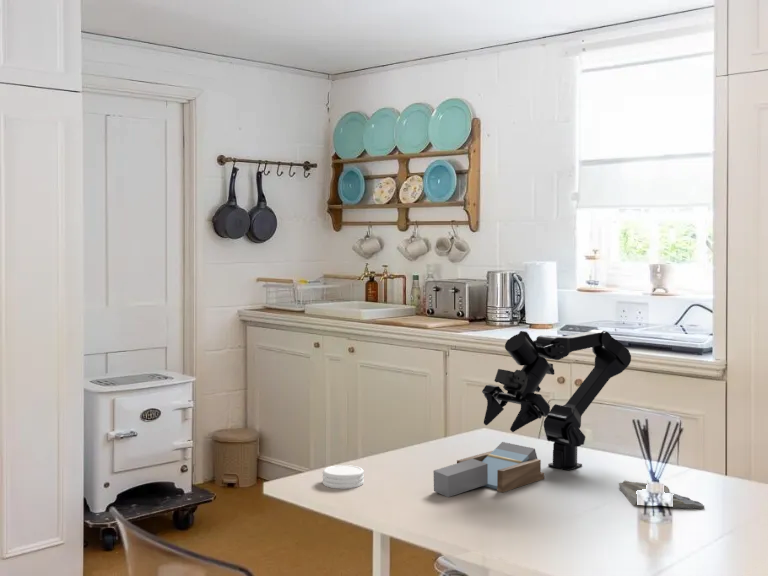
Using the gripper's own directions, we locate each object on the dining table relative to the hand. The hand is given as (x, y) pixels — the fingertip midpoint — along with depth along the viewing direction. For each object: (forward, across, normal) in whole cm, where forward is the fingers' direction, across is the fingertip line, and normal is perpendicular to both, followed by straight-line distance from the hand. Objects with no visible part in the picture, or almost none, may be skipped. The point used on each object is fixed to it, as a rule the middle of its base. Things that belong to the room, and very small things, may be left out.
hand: (497, 427), depth 218 cm
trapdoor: (+7, -1, +10) cm, 12 cm away
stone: (+11, 0, +3) cm, 11 cm away
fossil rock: (-4, +31, +24) cm, 40 cm away
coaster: (+31, -21, -12) cm, 40 cm away
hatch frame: (+8, -1, +10) cm, 13 cm away
